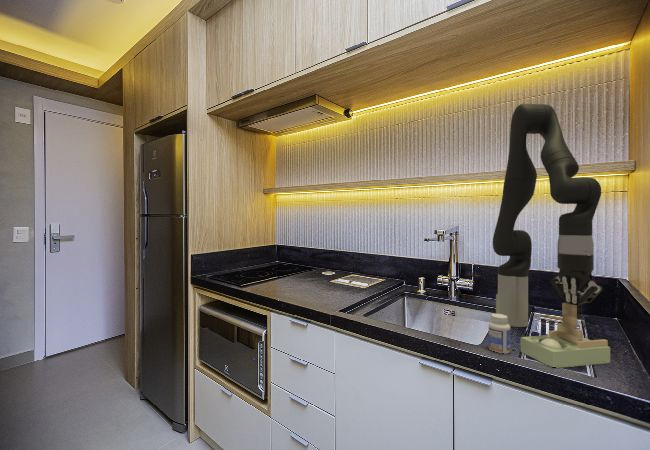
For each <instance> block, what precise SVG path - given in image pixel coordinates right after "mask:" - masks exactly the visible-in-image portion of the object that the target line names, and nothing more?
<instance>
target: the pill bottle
mask: <svg viewBox="0 0 650 450" xmlns="http://www.w3.org/2000/svg"><path fill="white" fill-rule="evenodd" d="M490 319H491V321H489V322H488V349H489V350H490V351H491V350H492V351H491V352H493V351H495V352H494V353H496V352H498V353H497V354H502V353H504V354H509V353H510V352H511V350H512V347H511V344H512V343H511V340H512V339H511V337H512V335H511V331H512V330H511V326H510V325H509V324H507V322H508V317H507V316H506V315H502V314H496V313H491V316H490Z"/></svg>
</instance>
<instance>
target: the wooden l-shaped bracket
mask: <svg viewBox="0 0 650 450" xmlns="http://www.w3.org/2000/svg"><path fill="white" fill-rule="evenodd" d="M561 305H562V307H561V308H562V309H561V310H562V312H561V313H562V317H561V319H562V321H561V322H559V323H557V325H556V330H557V337H560V338H562V339H565V340H567V341H570V342H572V343H575V344H577V341H583V338H584V337H583V333H584V332H583V330H582V329H579V328H578V318H577V305H573V304H570V303H567V302H562V303H561Z"/></svg>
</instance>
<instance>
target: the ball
mask: <svg viewBox="0 0 650 450" xmlns="http://www.w3.org/2000/svg"><path fill="white" fill-rule="evenodd" d="M540 343H542V344H544V345H547V346H551V347H559V348H562V347H561V345H560V344H559V343H558V342H557V341H555V340H553V339H544V340H542V341H541V342H540Z"/></svg>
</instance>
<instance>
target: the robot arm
mask: <svg viewBox="0 0 650 450" xmlns="http://www.w3.org/2000/svg"><path fill="white" fill-rule="evenodd" d="M509 130H510V132H509V145H508V147H509V148H508V149H509V150H508V157H507V162H506V163H507V164H506V170H505V175H504V180H503V187H502V196H501V204H500V208H499V213H498V218H497V221H496V224H495V228H494V232H493V235H492V248H493V252H494V254H495V255H498V256H501V257H509V259H508V260H507V261H506V262H504V263H503V264H500V265H499V266H497V293H496V294H495V314H502V315H506V316H507V317H508V322H507V324H509V325H510V327H514V328H526V327H528V326H529V271H530V269H531V265H532V252H533V251H532V250H533V248H532V247H533V246H532V245H533V243H532V238H531V236H530V234H529V233H528V232H527V231H525V230H521V229H515V225H516V222H517V219H518V217H519V215H520V214H521V212H522V211H523V210H524V209H525V207H526V206H527V205H528V204H529V202H531V200H532V198H533V197H534V194H535V191H536V183H537V180H538V173H537V172H538V171H537V170H536V167H535V165H534V163H533V161H532V159H531V156H530V154H529V152H528V148H527V139H528V138H527V136H528V134H529V135H531V134H532V135H536V134H537V135H539V136H541V137H542V138H543V140H544V143H543V146H542V148H541V151H540V161H541V163H542V165H543V167H544V169H545V171H546V172H547V175H548V180H549V181H548V182H549V193H550V194H549V195H550V197H551V199H553V200H554V202H555V203H558V204H561V205H575V208H574V209H573V211H572V212H568V213H567V212H566V213H563V214H561V215H560V216H559V218H558V239H557V246H556V247H557V253H556V254H557V255H556V259H557V265H556V266H557V268H558V269H559V270H558V273H557V276H556V277H554V278H552V277H551V278H550V280H549V281H550V282H551V284H552V286H553V287H554V289H555V290H556V292H557V294H558V295H559V297H560V298H561V299H563V300H565V302H566V303H570V304H573V305H577V319H578V318H581V317H582V316H583V304H586V303H587V304H590V303H591V302H592V301H593V300H594V299H595V298H596V297H597V296H599V294H601V292H602V291H603V290H604V288H603V286H602V285H598V284H597V283H596V282H595V281H594V277H593V274H592V273H593V271H594V269H595V268H594V267H595V266H594V257H595V256H594V252H595V251H594V239H593V220H594V217H595V214H596V212H597V208H598V205H599V202H600V199H601V195H602V187H601V184H600V182H599V181H598V180H597V179H596V178H594V177H575V176H576V175H577V174H578V173H579V170H580V166H579V164H578V161H577V160H576V158H575V157H574V155H573V153H572V152H571V150H570V149H569V147H568V145H567V142H566V141H565V138H564V134H563V131H562V127H561V125H560V122H559V118H558V116H557V113H556V111H555V109H554V107H553V106H551V105H550V104H545V103H522V104H519V105H518V106H516V107H515V109H514V111H513V113H512V116H511V120H510V129H509Z"/></svg>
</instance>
